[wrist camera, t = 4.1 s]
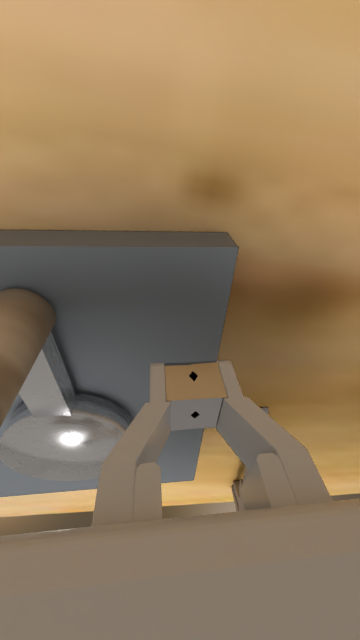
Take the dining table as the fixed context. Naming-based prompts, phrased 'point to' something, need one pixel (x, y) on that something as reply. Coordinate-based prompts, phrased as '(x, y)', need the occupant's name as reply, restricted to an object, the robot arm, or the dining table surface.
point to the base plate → (123, 319)
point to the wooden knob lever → (48, 399)
